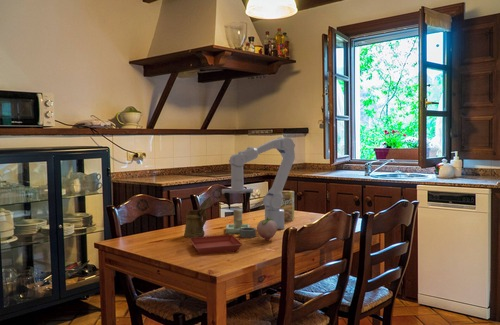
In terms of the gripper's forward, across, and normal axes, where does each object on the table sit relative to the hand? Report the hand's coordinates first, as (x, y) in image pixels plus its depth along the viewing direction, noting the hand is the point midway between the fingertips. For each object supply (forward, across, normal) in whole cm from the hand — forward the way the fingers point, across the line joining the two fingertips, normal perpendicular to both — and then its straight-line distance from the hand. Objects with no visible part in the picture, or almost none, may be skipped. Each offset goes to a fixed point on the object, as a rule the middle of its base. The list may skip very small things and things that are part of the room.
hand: (237, 208), depth 213 cm
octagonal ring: (+10, -4, +11) cm, 16 cm away
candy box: (+11, -25, -26) cm, 37 cm away
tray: (+10, 0, 0) cm, 10 cm away
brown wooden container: (+11, +18, +11) cm, 23 cm away
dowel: (+10, 0, 0) cm, 10 cm away
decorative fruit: (+11, -12, +21) cm, 26 cm away
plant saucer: (+11, +9, +33) cm, 36 cm away
